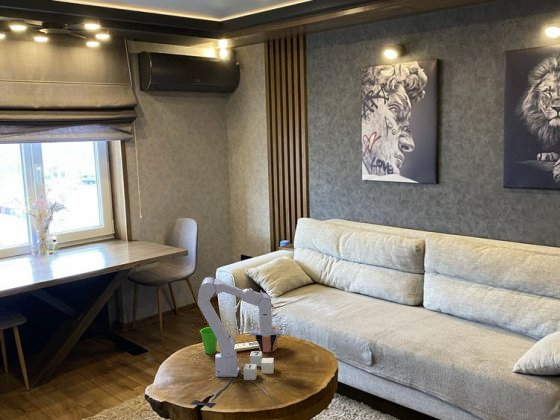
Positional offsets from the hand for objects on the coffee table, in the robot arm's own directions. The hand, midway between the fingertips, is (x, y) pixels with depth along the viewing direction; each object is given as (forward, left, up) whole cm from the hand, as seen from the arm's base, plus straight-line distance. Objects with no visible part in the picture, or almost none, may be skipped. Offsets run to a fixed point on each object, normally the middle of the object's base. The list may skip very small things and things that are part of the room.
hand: (267, 350), depth 251 cm
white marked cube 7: (-6, +7, -10) cm, 13 cm away
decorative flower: (-2, +22, -10) cm, 24 cm away
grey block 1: (-7, -6, -10) cm, 13 cm away
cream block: (0, 0, -10) cm, 10 cm away
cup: (-30, +20, -10) cm, 37 cm away
